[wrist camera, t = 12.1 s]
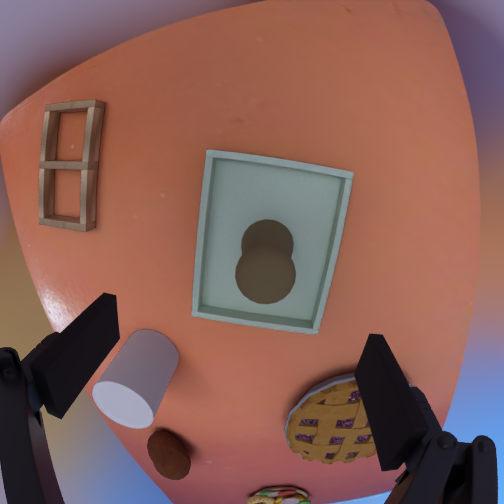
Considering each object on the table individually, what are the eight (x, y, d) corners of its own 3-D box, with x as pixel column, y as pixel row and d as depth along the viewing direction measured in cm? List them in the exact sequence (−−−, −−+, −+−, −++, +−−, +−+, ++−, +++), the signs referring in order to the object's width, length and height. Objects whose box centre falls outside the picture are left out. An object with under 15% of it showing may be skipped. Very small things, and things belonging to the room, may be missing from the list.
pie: (285, 365, 40) (286, 389, 36) (425, 353, 39) (437, 373, 34) (282, 451, 47) (282, 472, 42) (393, 440, 45) (399, 458, 40)
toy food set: (240, 495, 54) (239, 505, 50) (276, 478, 50) (276, 490, 47) (282, 508, 55) (282, 517, 52) (320, 491, 52) (321, 502, 49)
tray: (211, 149, 33) (206, 149, 30) (348, 171, 32) (354, 172, 30) (195, 306, 38) (191, 316, 36) (314, 324, 38) (317, 335, 36)
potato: (177, 424, 46) (166, 457, 38) (205, 458, 49) (198, 489, 41) (144, 426, 47) (130, 456, 40) (172, 459, 50) (163, 488, 43)
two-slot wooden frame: (56, 106, 31) (45, 104, 29) (105, 101, 31) (95, 99, 29) (49, 220, 36) (39, 224, 34) (95, 227, 36) (85, 232, 34)
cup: (125, 360, 42) (92, 410, 31) (132, 320, 40) (92, 370, 28) (172, 380, 43) (149, 436, 31) (184, 342, 40) (157, 400, 29)
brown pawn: (243, 271, 36) (232, 316, 25) (238, 221, 34) (223, 248, 24) (295, 268, 35) (303, 312, 25) (292, 217, 34) (301, 243, 23)
